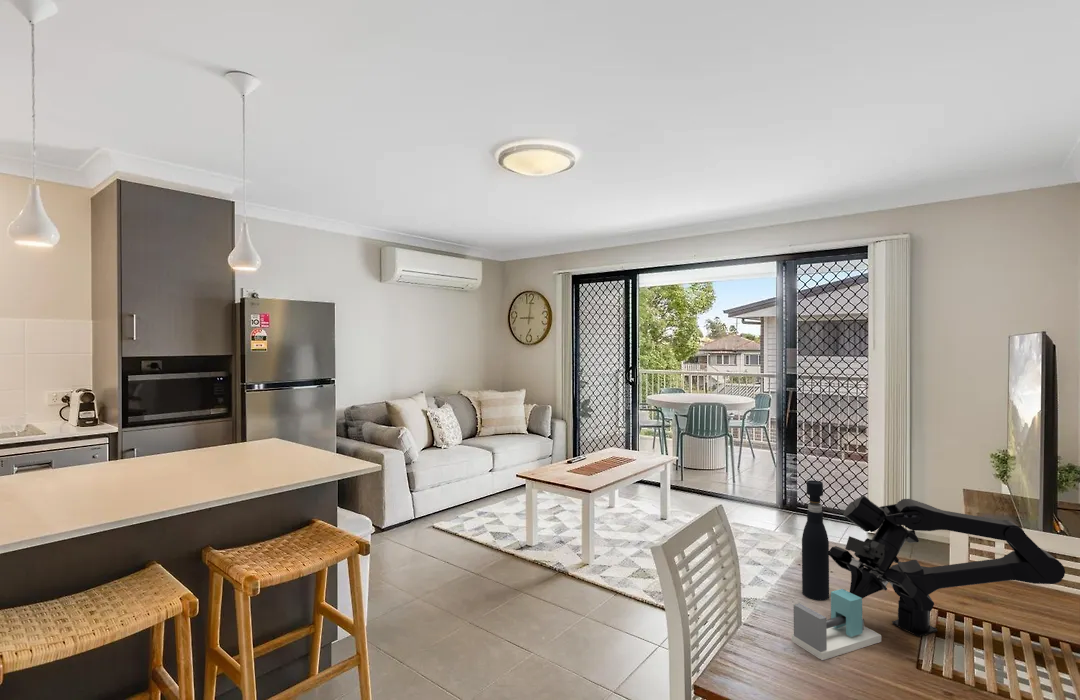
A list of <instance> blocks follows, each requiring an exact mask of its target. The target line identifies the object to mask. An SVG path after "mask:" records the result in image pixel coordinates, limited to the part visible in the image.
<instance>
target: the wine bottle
mask: <svg viewBox="0 0 1080 700" xmlns="http://www.w3.org/2000/svg"><path fill="white" fill-rule="evenodd" d="M806 494H807V495H808V496H809V500H808V501H809V502H808V504H807V506H808V507H807V510H806V518H807V519H806V522H805V525H804V528H803V530H802V536H801V537H802V538H801V586H802V587H801V589H802V590H801V591H802V592H801V593H802V595H803V596H804V597H805V598H808V599H811V600H815V601H827V600H829V599H830V556H829V554H828V552H829V551H830V547H829V546H830V545H829V544H830V542H829V536H828V532H827V530H826V526H825V524H824V512H823V509H822V508H823V507H822V504H821V497H823V496H824V483H823V482H822V481H820V480H807V481H806Z"/></svg>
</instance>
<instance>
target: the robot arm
mask: <svg viewBox="0 0 1080 700" xmlns="http://www.w3.org/2000/svg"><path fill="white" fill-rule="evenodd" d="M843 517H845V519H848V520H849V521H850V522H852V523H853V524H855V526H857V527H858V528H860V529H861V530H862V531H864V532H867V533H868V532H870V533H873V532H875V533H874V535H873V537H872V538H866V539H865V540H864V541H863V540H861V539H858V538H855V537H854V536H850V535H849V536H848V539H847V542H846V545H845V549H844V548H841V547H839V546H838V545H835V546H831V548H829V552H828V554H829V558H831V559H832V560H833V561H834V562H835V564H837V565H838V567H840V568H841V569H844V570H846V571H848V572H850V575H851V576H850V586H849V592H850V593H852V594H854V595H856V596H859V597H861V598H862V600H863V599H865V598H866V597H868V596H870V595H872V594H875V593H877V592H881V591H887V590H888V588H887V586H888V584H889V583H890V586H891V587H892V589H893V591H894V593H895V594H896V595H897V596H898V597H899V600H898V607H897V619H895V620H892V621H891V623H892V625H894V626H897V627H899V628H900V629H902V630H905V632H909V633H910V634H912V635H914V636H917V637H923V636H926V635H930V634H932V633H935V632H938V629H937V627H934V626H932V625H931V612H932V611H933V608H934V605H935V602H934V600H933V599H932V597H931V596H930V595H931V594H933V593H935V591H938V590H941V589H948V588H956V587H957V588H958V587H964V586H965V587H967V586H973V585H983V584H989V583H990V584H991V583H998V582H999V583H1000V582H1006V581H1007V582H1008V581H1016V582H1021V583H1023V582H1024V583H1028V584H1033V585H1054V584H1055V585H1056V584H1059V583H1060V582H1061V583H1062V580H1063V579H1064V578H1065V574H1066V570H1065V567H1064V565H1063V563H1061V562H1060V561H1059V560H1058V559H1057V558H1056V557H1054V556H1053V555H1052V554H1050V553H1049V552H1047V551H1046V550H1045V549H1042V548H1041V547H1039V546H1038V545H1037V544H1036V543H1035V542H1034V541H1033V540H1032V539H1031V538H1030V537H1029V536H1028V535H1027V534H1026V533H1025V531H1024V529H1023V528H1021V527H1020V526H1019V525H1018V524H1016V523H1015V522H1013V521H1012V520H1009V519H1007V520H1006V519H1004V520H1002V519H996V518H990V517H984V516H977V515H973V514H967V513H962V512H961V513H959V512H955V511H954V512H953V511H949V510H944V509H940V508H937V507H935V506H932V505H930V504H927V503H924V502H921V501H919V500H915V499H911V498H902V499H901V500H899V501H897V502H896V503H894V504H888V505H883V506H882V505H881V506H878V505H877V504H875V503H874V502H873V501H871V500H870V499H869V498H868V497H867V496H866V495H865V494H861V495H860V497H857V498H856V499H854V500H852V501H851V502H849V504H848V505H847V506H846V508H845V509H844V512H843ZM905 527H906V528H905ZM917 531H919V532H920V531H921V532H934V531H948V532H949V531H950V532H955V533H959V534H967V535H972V536H977V537H983V538H986V539H987V538H988V539H994V540H999V541H1005V542H1006V543H1007V544H1008V545H1009V547H1010V548H1011V549H1012V551H1010V552H1009V553H1007V554H1006V555H1004V556H1002V557H1000V558H999V557H998V558H992V559H985V560H977V561H969V562H961V563H953V564H947V565H945V564H944V565H939V566H930V567H929V566H923V565H921V564H920V563H919V561H918V559H912V560H911V559H910V560H907V561H900V559H899V558H898V555H899V553H900V551H901V550H902V548H903V546H904V544H906V542H908V543H909V544H911V543H912V544H913V543H919V537H918V536H917V534H916V532H917ZM850 551H851V552H854V554H853V555H854V556H855V557H856V558H858V559H856V558H855V557H854V556H853V555H852V554H851V552H850ZM893 563H895V564H893Z"/></svg>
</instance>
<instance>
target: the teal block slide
mask: <svg viewBox="0 0 1080 700" xmlns="http://www.w3.org/2000/svg"><path fill="white" fill-rule="evenodd" d="M845 623H846V617H845V616H843V615H842V616H839V617H835V618H832V619H831V618H829V619H827V616H825V615H822V614H821V613H819V612H817V611H815V610H813V609H812V608H811V607H807V606H806V605H804V604H802V603H801V602H798V603H795V604H793V633H792V634H791V642H792V643H794V644H795V645H797V646H799V647H800V648H801V649H803V650H805V651H807V652H808V653H810V654H811V655H813V656H814V657H816V658H817V659H820V660H821V661H825V660H828V659H831V658H835V657H838V656H840V655H844V654H848V653H850V652H853V651H857V650H859V649H862V648H866V647H870V646H871V645H875V644H878V643H882V634H880V633H878V632H876V631H875V630H873V629H870V628H868V627H867V626H865V620H864V619H863V618H862V634H859V635H855V636H852V637H850V636H848V635H847V634H846V626H843V627H839V628H834V626H838V625H841V624H845Z"/></svg>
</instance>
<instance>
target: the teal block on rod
mask: <svg viewBox="0 0 1080 700" xmlns="http://www.w3.org/2000/svg"><path fill="white" fill-rule="evenodd" d="M842 615H843V616H845V617H846V623H845V624H841V625H838V626H834V628H839V627H843V626H846V634H847V635H848V636H850V637H852V636H855V635H859V634H862V619H863V599H862V598H861V597H859V596H856V595H854V594H852V593H850V591H847V590H845V589H843V588H840V589H835V590H833V591H830V619H832V618H835V617H839V616H842Z"/></svg>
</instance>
